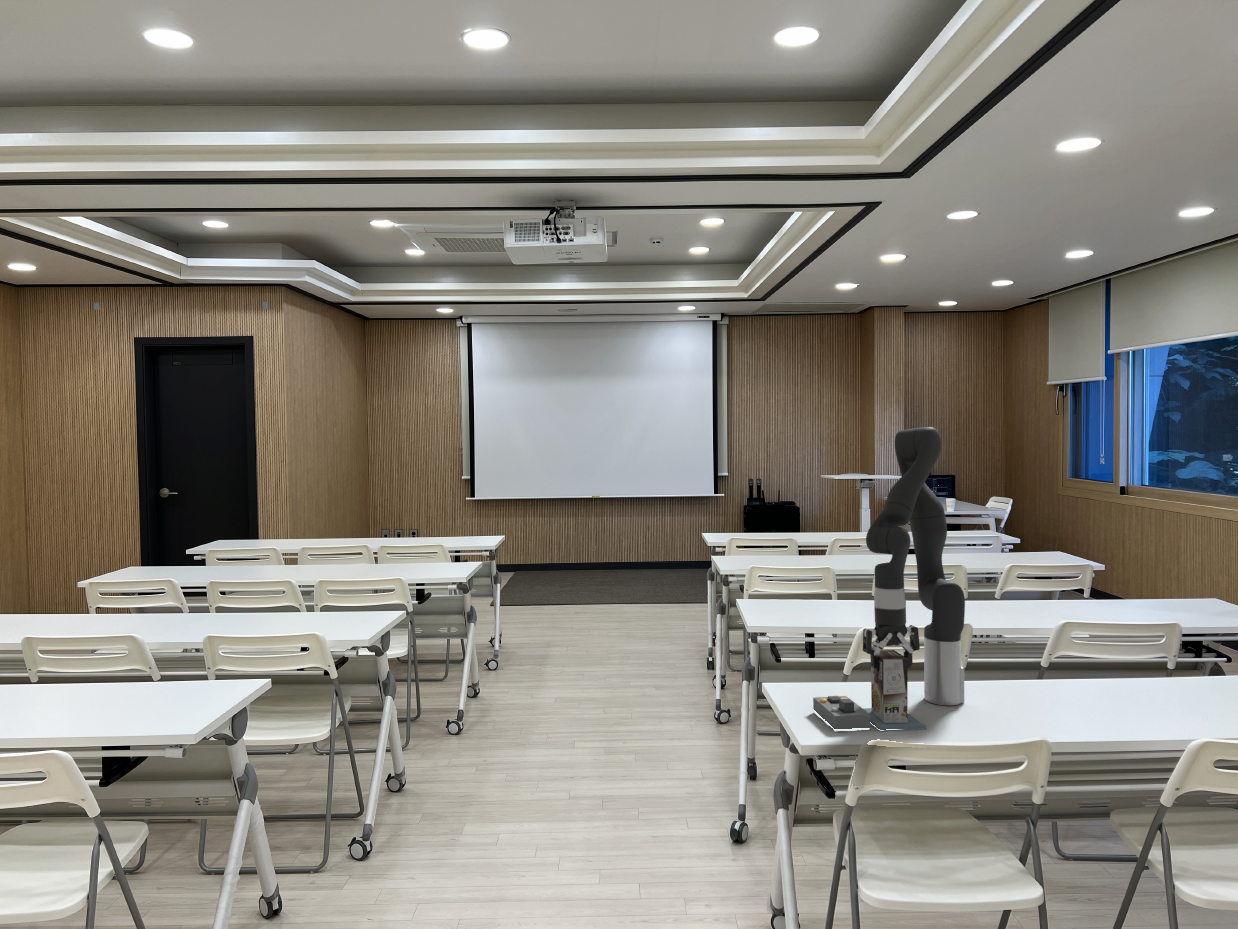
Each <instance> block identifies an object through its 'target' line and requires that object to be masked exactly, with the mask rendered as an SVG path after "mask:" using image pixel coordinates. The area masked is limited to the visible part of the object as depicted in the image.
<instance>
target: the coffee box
mask: <svg viewBox="0 0 1238 929" xmlns="http://www.w3.org/2000/svg"><path fill="white" fill-rule="evenodd" d="M878 656H879V670H878V671H876V670H874V669H873V667H871V666H870V682H871V684H870V687H871V688H870V689H871V691H870V692H871V695H870V696H871V699H870V700H871V708H872V712H873V713H874V714H875V715H876V716H877V717H878V718H879V719H880V720H881V721H882V722H883V723H907V722H908V714H909V713H908V711H909V710H908V706H909V705H908V702H909V701H908V700H909V699H908V696H909V695H908V690H909V689H908V687H909V686H908V675H909V674H908V672H909V671H908V670H909V668H908V659H907V658H906V657H904V654H901V653H899V652H898V651H896V650H895V649H882V650H881V651H880V653H879V654H878Z"/></svg>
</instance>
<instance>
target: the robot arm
mask: <svg viewBox="0 0 1238 929" xmlns="http://www.w3.org/2000/svg"><path fill="white" fill-rule="evenodd" d="M942 446H943V442H942V436H941V434H940V433H939V431H938V430H937V429H936V428H935V427H933V426H924V427H923V426H922V427H915V428H907V429H901V430H899V431H898V432H897V433H896V434H895V437H894V452H895V456H896V460H897V465H898V468H899V471H900V475H901V477H900V478H899V479H898V480H897V481H896V482H895V483H894V484H893V486H892V487H891V488H890V490H889V492H888V494H887V497H886V499H885V503H884V506H883V509H882V511H880V513H879V514H878V515H877V517H876V519H875V520H874V521H873V522H872V524H871V525H870V527H869V528H868V530H867V532H866V536H865V544H866V546H867V549H868V550H869V551H870V552H872V553H873V554H879V555H880V554H881V555H891V558H890V561H888V562H881V563H878V564H876V565H875V567H874V593H873V594H874V595H873V603H874V606H873V607H874V610H873V611H874V624H875V625H874V629H873V628H872V629H871V628H870V629H868V628H863V630H862V652H864V653H865V654H868V655H870V668H871V667H873V669H874V670H876V671H878V670H879V656H878V654H879V653H880V651H881V650H884V649H885V647H886V646H887V647H890V646H899V645H900V647H901V648H902V649H903V650H904V651H903V656H904V657H906V658H907V659H908V669H911V668H912V666H913V652H915V651H919V650H920V648H921V647H920V645H921V644H920V635H919V634H920V633H919V627H917V626H914V625H912V624H909V626H907V625H906V624H907V609H906V608H907V607H906V606H907V601H906V592H905V569H906V568H905V567H906V562H907V558H908V555H909V551H910V548H911V541H912V542H913V548H914V554H915V562H916V572H917V574H916V575H917V590H918V597H919V600H920V602H921V604H922V605H923V606H924V608H926V609H927V610H930V611H932V612H931V615H932V616H931V623H930V624H927V625H925V626H924V628H923V630H924V631H923V645H924V646H923V650H924V651H923V652H924V653H923V654H924V655H923V658H924V659H923V662H924V665H923V667H924V668H923V672H924V673H923V674H924V675H923V676H924V677H923V678H924V681H923V682H924V683H923V684H924V685H923V686H924V687H923V688H924V689H923V690H924V692H923V693H924V694H923V695H924V700H925V701H926V702H928V703H930V704H933V705H934V704H935V705H940V706H948V707H949V706H957V705H960V704H964V703H965V668H964V666H962V663H961V662H962V655H961V654H962V650H961V649H962V647H961V645H962V643H961V641H962V640H961V639H962V633H963V630H964V627H965V613H966V612H965V610H966V599H965V594H964V590H963V588H962V586H960V585H959V583H956V582H953V581H951V580H947V579H946V576H945V572H944V567H943V552H944V551H943V550H944V548H945V544H946V541H947V536H948V526H947V519H946V513H945V508H944V506H943V504H942V502H941V500H940V499H939V498H938V497H937V496H936V494H935V493H934V491H932V490H931V488H930V487H929V486H928V485H927V483H926V480H927V479H928V477H929V475H930V474H931V472H932V470H933V468H934V466H935V465H936V463H937V461H938V459H939V456H940V454H941V451H942ZM907 524H909V525H910V526H909V527H910V531H911V536H912V540H911V536H910V534H909V532H908V530H907V529H906V528H904V527H903V526H906V525H907ZM907 634H908V635H909V636H908V637H909V641H907V639H906V638H905V637H906V635H907ZM874 636H875V637H874ZM873 638H875V639H874V641H873ZM872 642H873V643H872Z"/></svg>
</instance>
